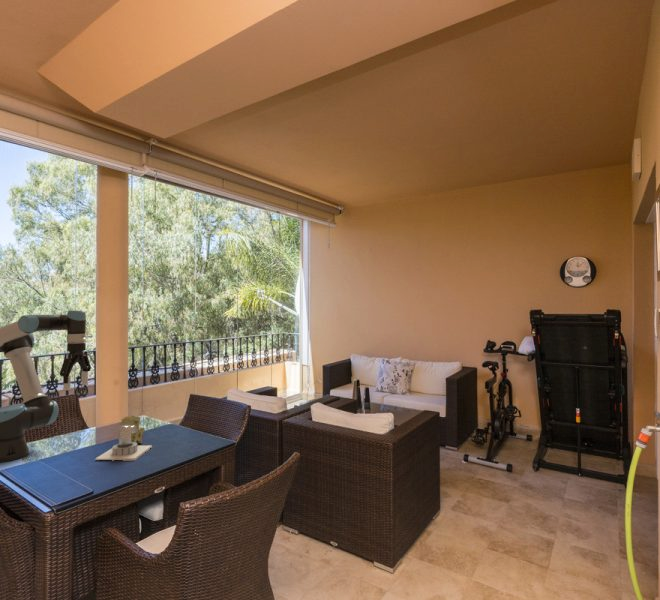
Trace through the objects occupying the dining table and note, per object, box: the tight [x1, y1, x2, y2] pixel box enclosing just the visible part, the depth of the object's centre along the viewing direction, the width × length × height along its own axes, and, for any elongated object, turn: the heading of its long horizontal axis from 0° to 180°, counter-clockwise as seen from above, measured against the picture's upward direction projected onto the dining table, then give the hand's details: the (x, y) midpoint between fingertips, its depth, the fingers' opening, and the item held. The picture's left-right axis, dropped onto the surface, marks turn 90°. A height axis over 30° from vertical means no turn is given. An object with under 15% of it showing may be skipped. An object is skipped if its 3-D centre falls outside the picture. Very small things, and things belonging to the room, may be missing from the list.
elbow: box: [118, 425, 137, 448], centre depth 196 cm, size 8×5×12 cm, turn 150°
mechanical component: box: [117, 415, 145, 444], centre depth 210 cm, size 8×17×20 cm, turn 177°
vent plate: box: [94, 442, 153, 462], centre depth 195 cm, size 18×18×4 cm
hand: (76, 387), depth 195 cm, fingers open, 13 cm apart
